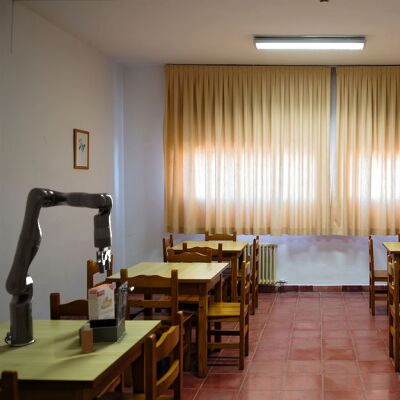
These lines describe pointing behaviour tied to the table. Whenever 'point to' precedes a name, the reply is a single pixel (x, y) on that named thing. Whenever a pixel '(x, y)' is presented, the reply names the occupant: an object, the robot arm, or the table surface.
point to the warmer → (105, 330)
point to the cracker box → (101, 302)
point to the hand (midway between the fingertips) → (104, 271)
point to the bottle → (87, 338)
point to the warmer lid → (122, 302)
